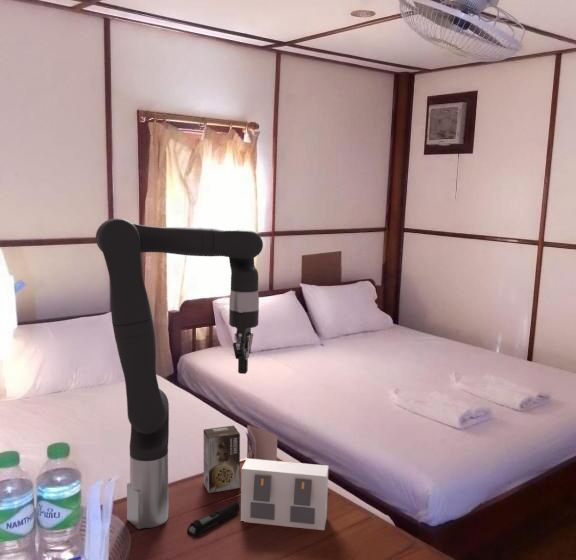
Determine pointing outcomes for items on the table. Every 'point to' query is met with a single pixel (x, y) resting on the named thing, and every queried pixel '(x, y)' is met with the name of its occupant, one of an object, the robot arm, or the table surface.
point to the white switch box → (284, 494)
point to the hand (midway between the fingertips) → (242, 372)
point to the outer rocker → (302, 492)
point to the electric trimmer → (212, 519)
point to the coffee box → (221, 459)
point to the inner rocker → (262, 488)
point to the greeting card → (261, 444)
